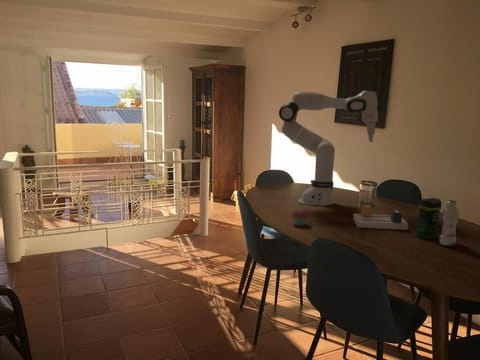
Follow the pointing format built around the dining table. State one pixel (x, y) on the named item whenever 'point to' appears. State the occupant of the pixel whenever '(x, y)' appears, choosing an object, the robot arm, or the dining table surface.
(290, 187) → the dining table surface
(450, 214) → the plastic bottle
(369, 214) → the fader
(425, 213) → the coffee jar
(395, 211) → the fader
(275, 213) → the dining table surface
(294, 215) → the cupcake
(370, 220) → the console
